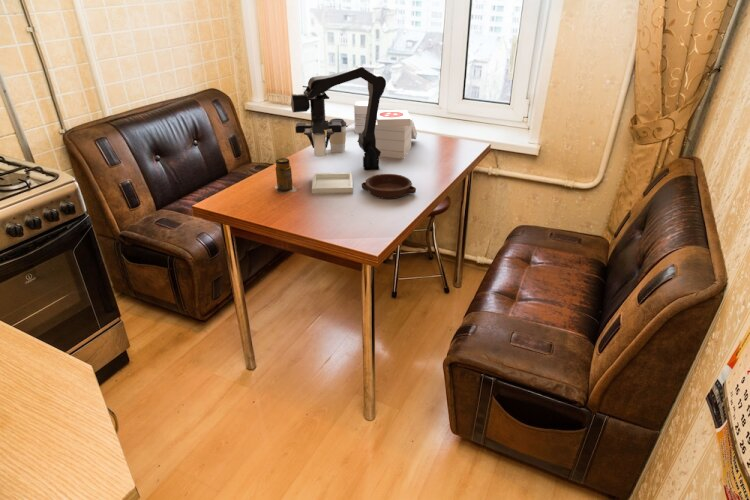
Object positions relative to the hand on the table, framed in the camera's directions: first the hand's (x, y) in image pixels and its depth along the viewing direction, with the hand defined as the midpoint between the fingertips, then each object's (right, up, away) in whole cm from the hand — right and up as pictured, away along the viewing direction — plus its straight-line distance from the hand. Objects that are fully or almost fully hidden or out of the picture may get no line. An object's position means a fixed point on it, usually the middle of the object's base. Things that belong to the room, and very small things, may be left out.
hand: (319, 147), depth 202 cm
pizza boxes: (+33, +7, +35) cm, 48 cm away
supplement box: (+17, +22, +60) cm, 66 cm away
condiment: (-13, -19, -9) cm, 24 cm away
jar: (0, -3, +2) cm, 3 cm away
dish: (+28, -21, -11) cm, 37 cm away
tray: (+6, -17, -6) cm, 19 cm away
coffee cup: (+5, +5, +32) cm, 33 cm away
